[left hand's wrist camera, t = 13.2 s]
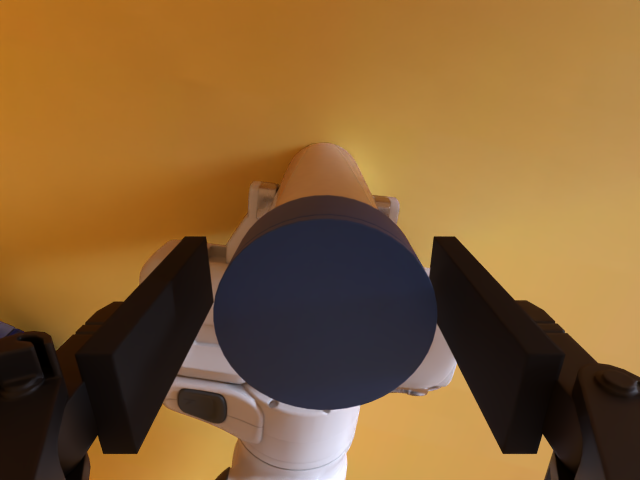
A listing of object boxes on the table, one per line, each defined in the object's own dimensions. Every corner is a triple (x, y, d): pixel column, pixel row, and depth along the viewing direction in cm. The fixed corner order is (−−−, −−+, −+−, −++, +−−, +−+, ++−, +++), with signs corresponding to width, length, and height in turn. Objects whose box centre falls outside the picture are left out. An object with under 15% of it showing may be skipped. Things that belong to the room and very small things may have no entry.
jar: (285, 214, 29) (234, 387, 12) (286, 140, 27) (225, 223, 10) (357, 217, 29) (407, 393, 12) (363, 144, 27) (432, 232, 10)
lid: (235, 356, 14) (219, 407, 12) (227, 190, 12) (204, 213, 9) (405, 362, 14) (421, 414, 12) (430, 198, 12) (456, 223, 9)
